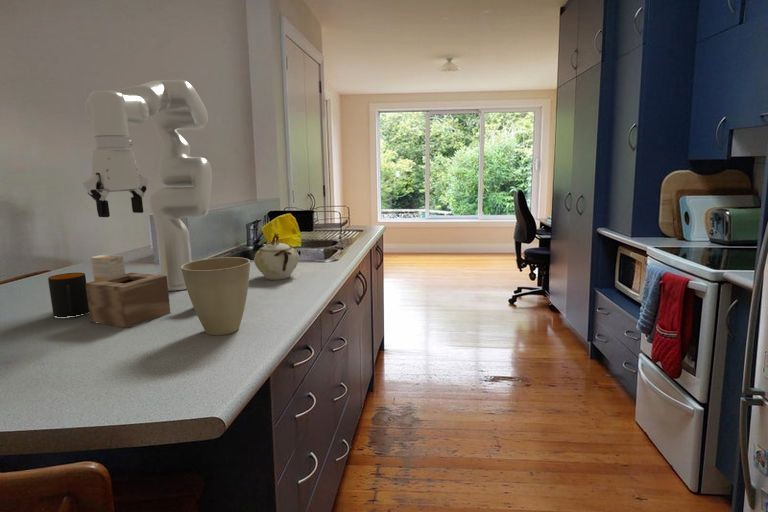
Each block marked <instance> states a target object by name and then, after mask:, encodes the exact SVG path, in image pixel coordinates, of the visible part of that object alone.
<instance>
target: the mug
mask: <svg viewBox="0 0 768 512" xmlns="http://www.w3.org/2000/svg"><path fill="white" fill-rule="evenodd" d="M86 278H87V277H86V273H85V272H70V273H69V272H68V273H67V272H66V273H61V274H60V273H59V274H55V275H52V276H49V277H47V281H48V287H49V295H50V301H51V308H52V315H54V316H57V317H67V316H76V315H81V314H85V313H88V312H89V306H88V298H87V291H86V284H85V283H87V279H86ZM88 314H89V313H88ZM85 315H86V314H85ZM54 316H53V317H54Z"/></svg>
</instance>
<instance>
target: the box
mask: <svg viewBox="0 0 768 512" xmlns="http://www.w3.org/2000/svg"><path fill="white" fill-rule="evenodd" d="M85 284H86V291H87V298H88V306H89V313H88V314H89V320H90V323H91V322H98V323H103V324H102V325H105V324H108V325H107V326H111V325H115V326H114V327H118V326H120V328H125V327H126V328H127V329H128V327H129V328H131V327H135V326H137V324H138V325H140V324H143V323H146V322H148V321H151V320H154V319H158V318H161V317H163V316H166V315H169V314H171V304H170V297H169V296H170V294H169V291H168V284H167V276H163V275H157V274H152V273H151V274H150V273H140V272H139V273H138V272H128V273H125V274H123V275H119V276H115V277H110V278H106V279H102V280H97V281H94V280H93V281H89V282H86V283H85ZM98 323H97V324H98ZM126 328H125V329H126Z"/></svg>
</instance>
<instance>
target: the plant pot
mask: <svg viewBox="0 0 768 512" xmlns="http://www.w3.org/2000/svg"><path fill="white" fill-rule="evenodd" d="M250 269H251V260H250V259H248V258H245V257H237V256H234V257H233V256H226V257H225V256H224V257H223V256H221V257H211V258H204V259H198V260H192V262H189V263H186V264H184V265H182V266H181V270H182V274H183V277H184V281H185V285H186V288H187V289H186V291H187V293H188V295H189V296H188V297H189V299H190V302H191V304H192V307H193V309H194V311H195V314H196V315H197V316H196V317H197V318H198V320H199V322H200V324H201V326H202V328H203V329H204V332H205V333H206V334H207V335H210V336H224V335H225V336H226V335H229V334H233V333H235V332H238V330H239V329H240V326H241V322H242V320H243V316H244V313H245V308H246V304H247V303H246V302H247V296H248V289H249V283H250Z"/></svg>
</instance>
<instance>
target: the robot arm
mask: <svg viewBox="0 0 768 512" xmlns="http://www.w3.org/2000/svg"><path fill="white" fill-rule="evenodd" d="M84 110H85V113H86V114H85V115H86V116H87V119H89V121H90V122H91V124H92V129H93V137H94V146H95V150H92V153H91V177H90V178H89V179H87V180H85V181H84V182H83V183H82V185H83V187H84V188H85V190H86V192H87V194H88V195H89V196H90V197H91V198H92V200H93V201H95V203H96V204H95V206H96V211H97V215H98V218H109V217H110V216H111V214H110V208H109V206H110V205H109V201H108V200H107V197H108V195H109V193H112V192H113V193H115V192H117V193H118V192H127V191H128V192H129V193H130V194H131V196H132V197H130V201H131V203H130V204H131V211H132V213H134V214H135V213H136V214H143V213H144V204H143V197H145V193H146V191H147V187H148V183H149V179H148V178H146V177H144V176H143V175H140V174H139V170H138V165H137V164H138V163H137V161H136V156H135V152H134V151H133V150H132V148H131V146H133V142H134V141H133V140H131V139H130V132H129V126H136V125H142V124H144V123H145V122H147V120H148V118H149V117H151V120H152V122H153V126H154V128H155V130H156V133H157V136H158V138H159V140H160V142H161V155H160V160H159V161H160V162H159V169H158V178H159V179H158V180H159V181H160V183H161V184H162V185H163V186H165V187H161V188H156V189H155V190H153V191H152V192H151V194H150V195H149V199H148V201H149V208H150V210H151V213H152V218H153V221H154V225H155V233H156V242H157V244H156V245H157V252H158V260H159V270H160V271H159V272H157V273H156V275H163V276H167V284H168V292H171V291H184V290H187V288H186V285H185V281H184V277H183V274H182V270H181V266H182V265H184V264H186V263H189V262H192V261H193V260H192V252H191V251H192V250H191V240H190V231H189V229H188V227H187V226H186V224H185V223H184V222H183V221H182V220H181V219H183V218H184V219H185V218H187V219H188V218H189V219H190V218H203V217H205V216H207V215H208V213H209V211H210V203H211V195H212V183H213V173H212V172H213V171H212V166H211V164H210V162H209V160H207V159H206V158H205V157H201V156H191V145H190V144H189V142H188V141H187V140H186V139H185V138H184V137H183V136H182V135H181V134H180V133H179V132H178V131H185V130H187V131H191V130H193V131H194V130H203V129H204V128H206V126H207V125H208V122H209V114H208V110H207V108H206V106H205V104H204V103H203V101H202V99H201V97H200V96H199V93H198V92H197V90H196V89H195V88H194V86H193V85H192V84H191V83H189V82H188V81H187V80H184V79H163V80H162V79H158V80H156V79H155V80H151V81H148V82H144V83H142V84H139V85H134V86H127V87H123V88H118V89H111V90H94V91H91V92H90V93H89V96H88V98H87V100H86V101H85V106H84Z"/></svg>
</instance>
